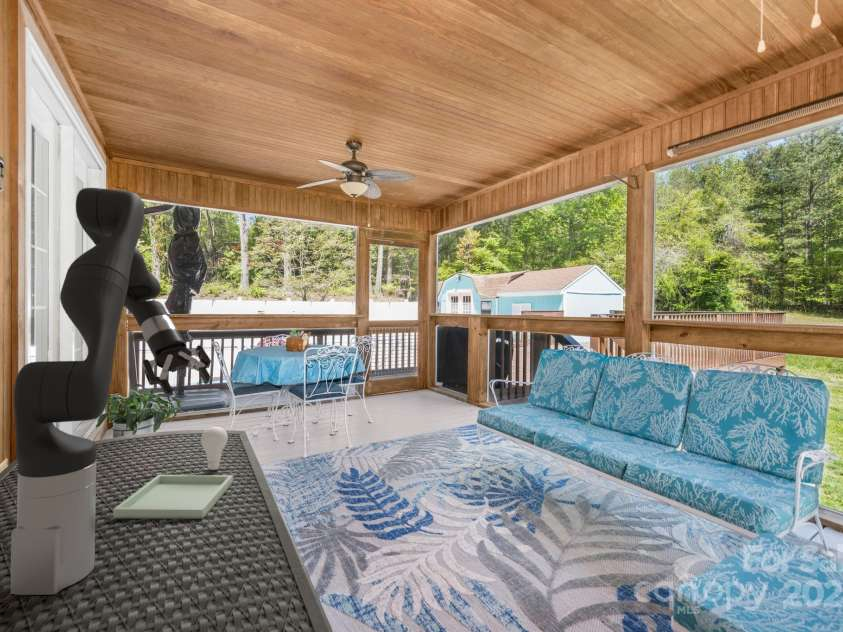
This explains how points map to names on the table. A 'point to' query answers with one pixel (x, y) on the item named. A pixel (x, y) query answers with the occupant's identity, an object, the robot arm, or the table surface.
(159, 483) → the parts tray
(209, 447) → the lightbulb
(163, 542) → the table surface
